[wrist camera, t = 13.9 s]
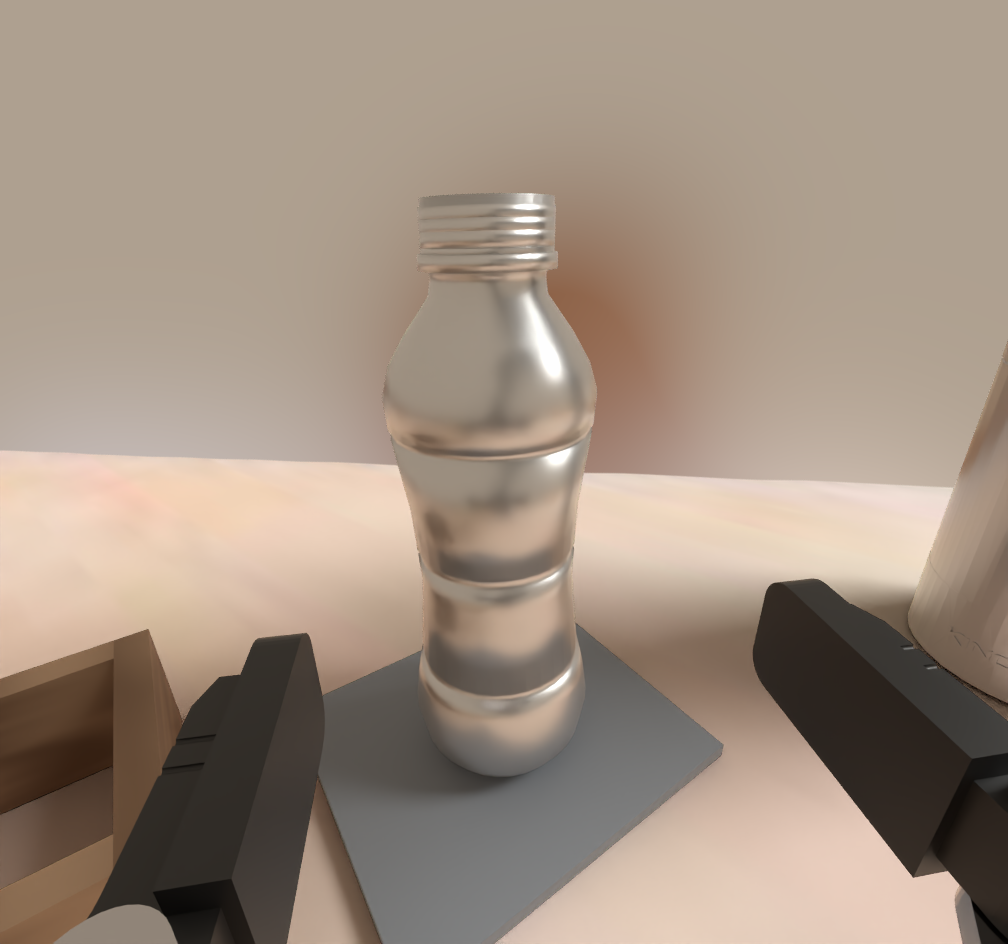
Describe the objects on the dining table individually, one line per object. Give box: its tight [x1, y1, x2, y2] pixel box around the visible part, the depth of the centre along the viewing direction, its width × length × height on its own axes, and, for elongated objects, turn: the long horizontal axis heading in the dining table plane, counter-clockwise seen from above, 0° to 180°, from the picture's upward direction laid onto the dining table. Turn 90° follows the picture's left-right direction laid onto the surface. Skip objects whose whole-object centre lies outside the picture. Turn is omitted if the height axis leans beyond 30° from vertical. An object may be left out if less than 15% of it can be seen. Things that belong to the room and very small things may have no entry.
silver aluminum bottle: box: [382, 193, 597, 777], centre depth 18 cm, size 6×7×20 cm
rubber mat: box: [318, 623, 723, 944], centre depth 23 cm, size 14×12×1 cm
